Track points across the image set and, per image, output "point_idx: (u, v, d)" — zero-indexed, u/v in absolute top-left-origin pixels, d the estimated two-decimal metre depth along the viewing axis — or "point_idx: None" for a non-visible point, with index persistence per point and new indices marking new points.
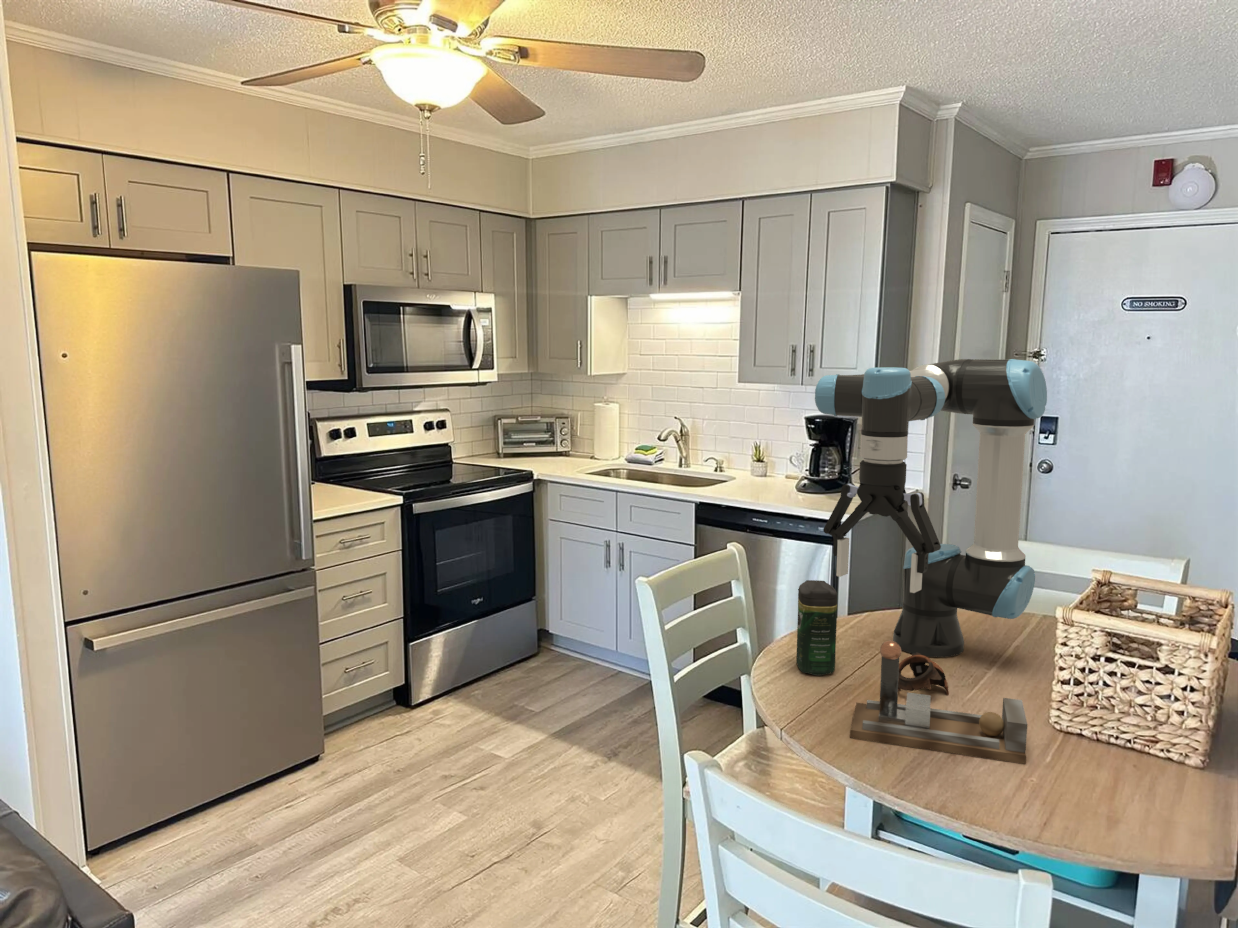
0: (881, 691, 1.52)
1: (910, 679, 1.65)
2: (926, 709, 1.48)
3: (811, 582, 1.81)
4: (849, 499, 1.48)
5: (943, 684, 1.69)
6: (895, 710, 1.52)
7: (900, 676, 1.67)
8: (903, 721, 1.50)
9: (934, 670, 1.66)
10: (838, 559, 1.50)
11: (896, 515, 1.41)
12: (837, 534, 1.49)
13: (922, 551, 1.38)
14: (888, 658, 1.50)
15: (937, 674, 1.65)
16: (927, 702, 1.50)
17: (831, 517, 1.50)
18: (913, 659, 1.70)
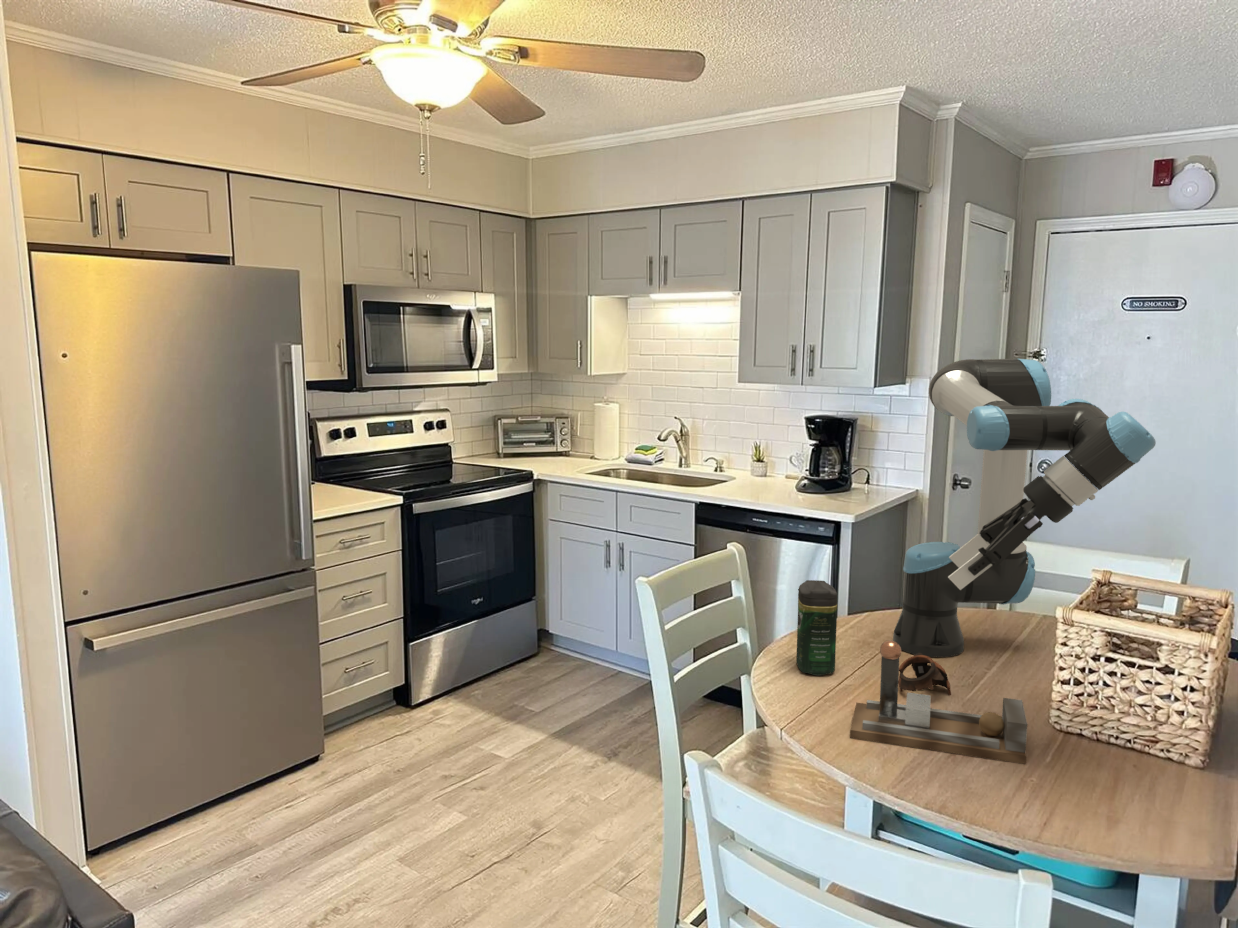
0: (881, 691, 1.52)
1: (913, 679, 1.65)
2: (926, 709, 1.48)
3: (811, 582, 1.81)
4: None
5: (945, 684, 1.69)
6: (895, 710, 1.52)
7: (902, 676, 1.67)
8: (903, 721, 1.50)
9: (936, 670, 1.65)
10: (975, 578, 1.38)
11: None
12: None
13: None
14: (888, 658, 1.50)
15: (939, 674, 1.65)
16: (927, 702, 1.50)
17: (1011, 551, 1.34)
18: (915, 659, 1.70)
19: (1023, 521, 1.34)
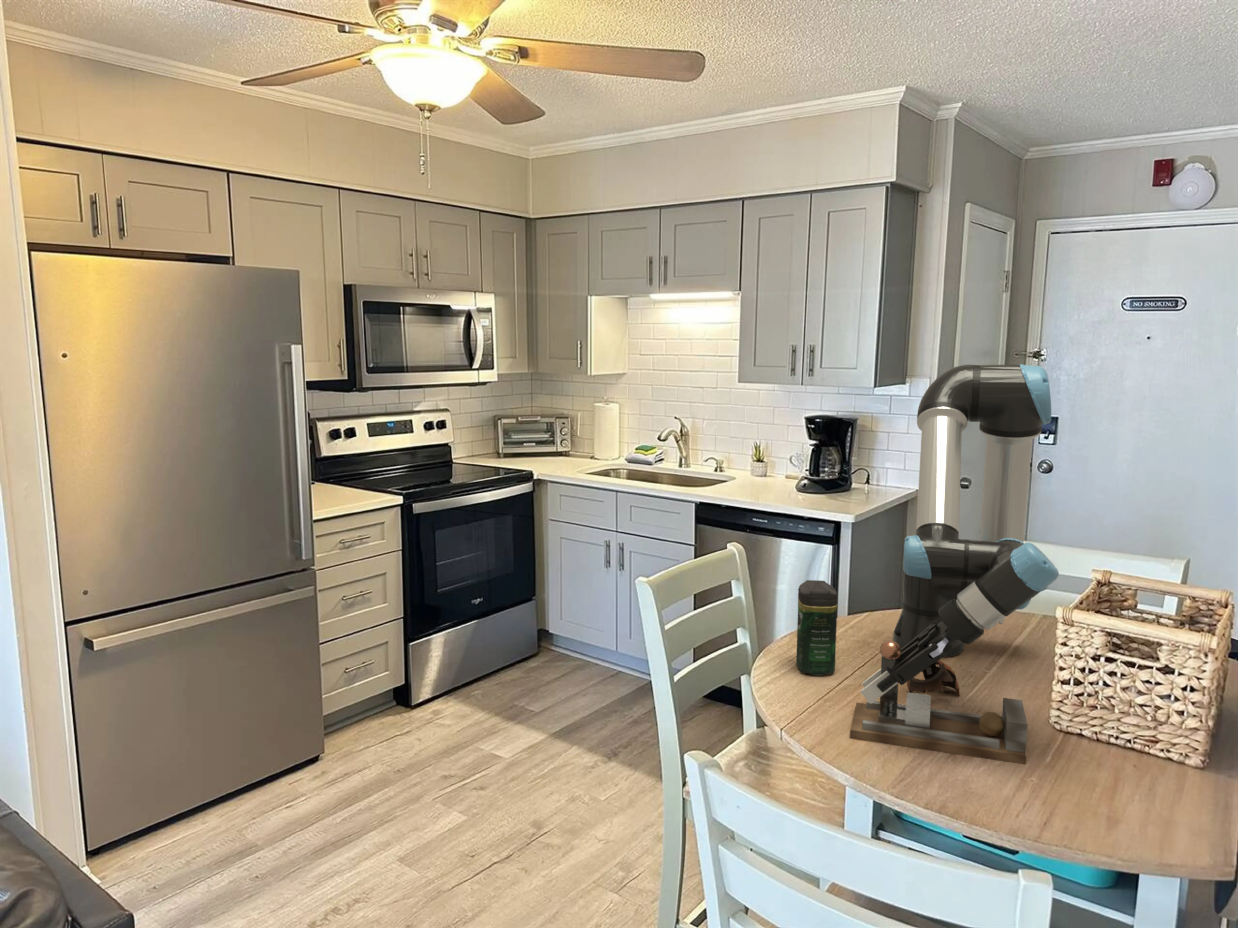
0: None
1: (922, 681, 1.64)
2: (926, 709, 1.48)
3: (811, 582, 1.81)
4: None
5: (954, 685, 1.69)
6: (895, 710, 1.52)
7: (912, 678, 1.66)
8: (903, 721, 1.50)
9: (946, 672, 1.65)
10: None
11: None
12: None
13: None
14: (888, 658, 1.50)
15: (949, 676, 1.64)
16: (927, 702, 1.50)
17: None
18: None
19: (926, 651, 1.43)
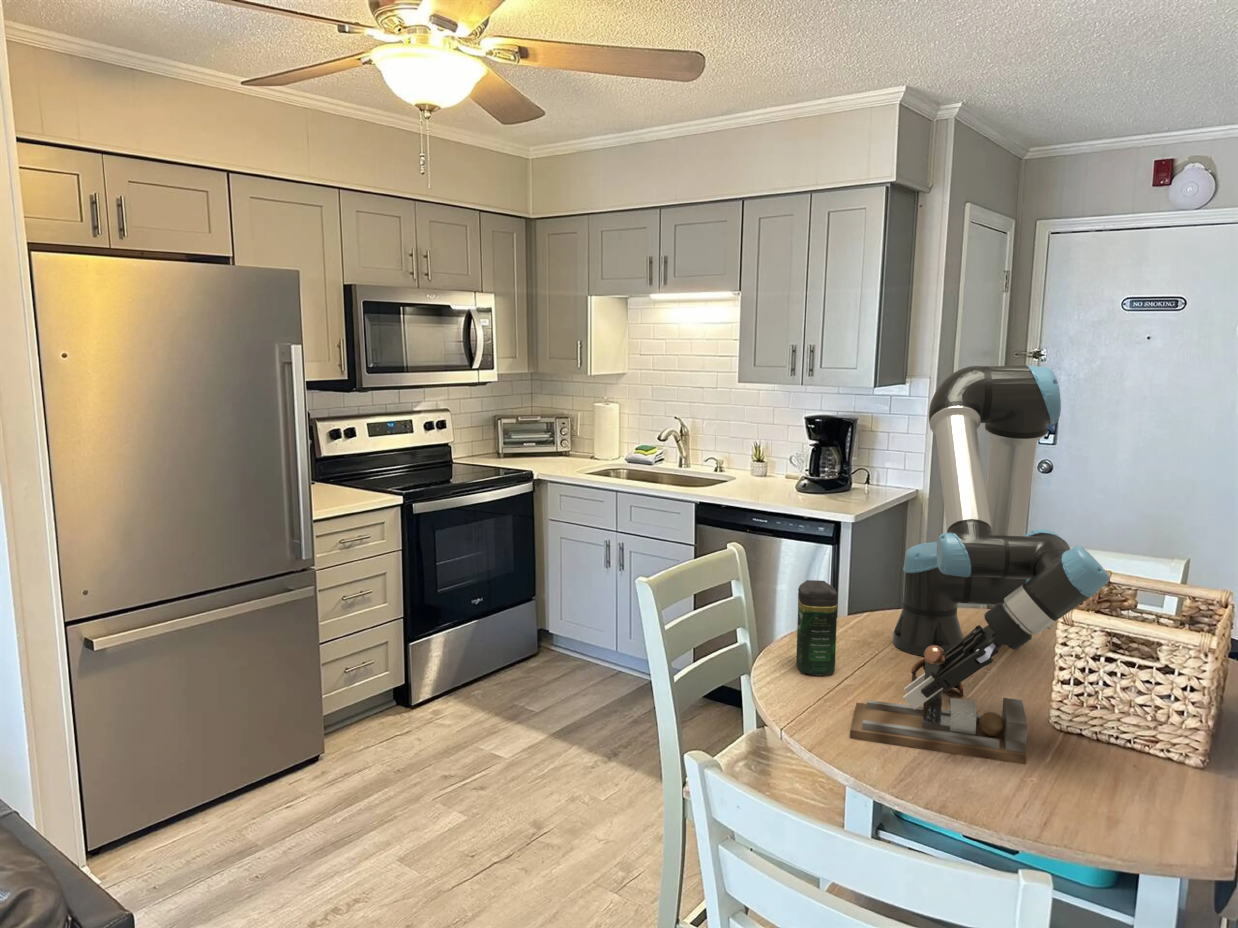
0: None
1: None
2: (972, 715, 1.45)
3: (811, 582, 1.81)
4: None
5: (957, 686, 1.68)
6: (939, 716, 1.49)
7: (915, 679, 1.66)
8: (948, 727, 1.48)
9: None
10: None
11: None
12: None
13: None
14: (932, 663, 1.48)
15: None
16: (972, 708, 1.48)
17: (961, 680, 1.43)
18: None
19: (974, 656, 1.41)
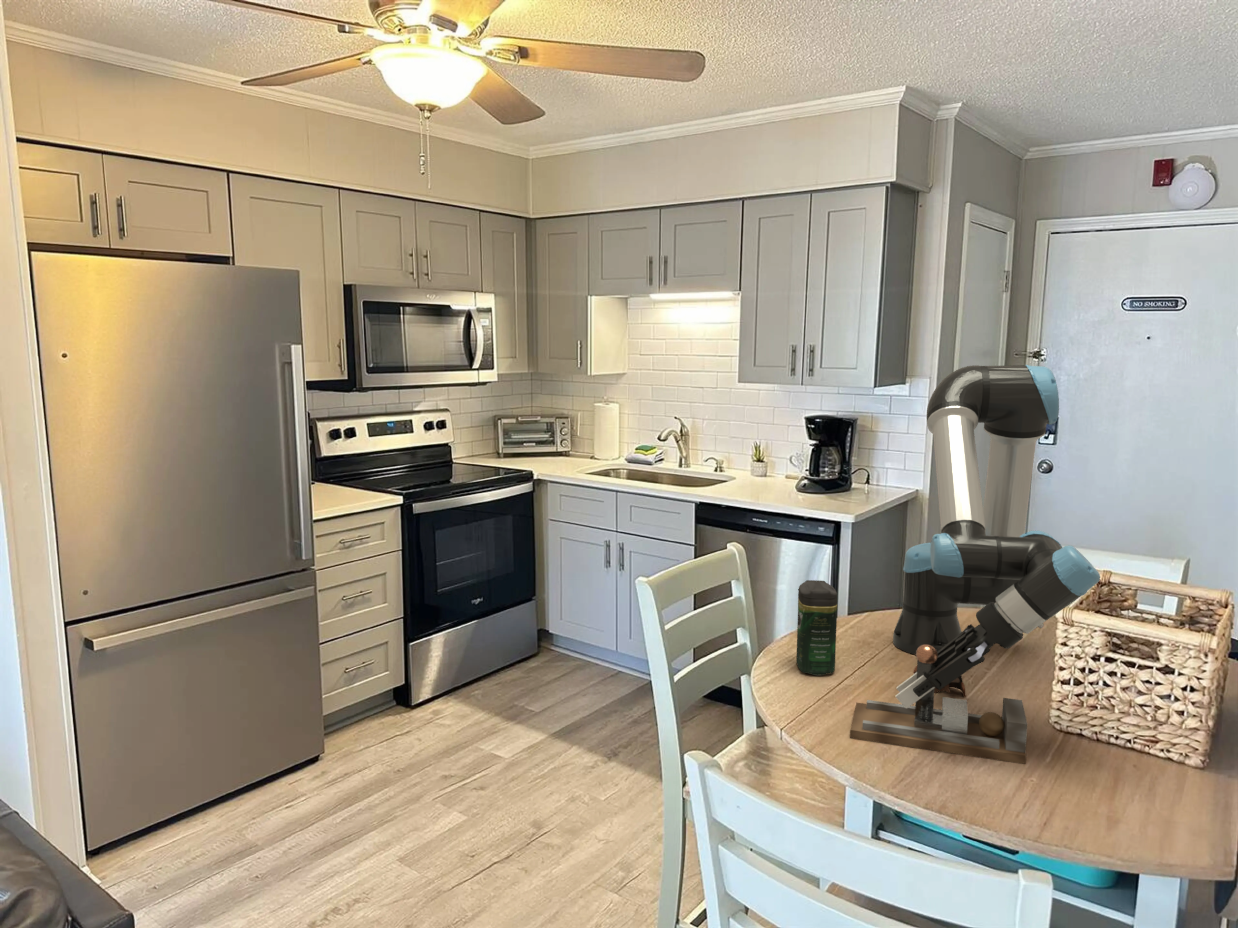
0: None
1: None
2: (963, 714, 1.46)
3: (811, 582, 1.81)
4: None
5: (960, 686, 1.68)
6: (931, 715, 1.50)
7: None
8: (940, 726, 1.48)
9: None
10: (919, 697, 1.49)
11: None
12: None
13: None
14: (924, 662, 1.48)
15: None
16: (964, 707, 1.48)
17: (953, 679, 1.43)
18: None
19: (965, 655, 1.41)
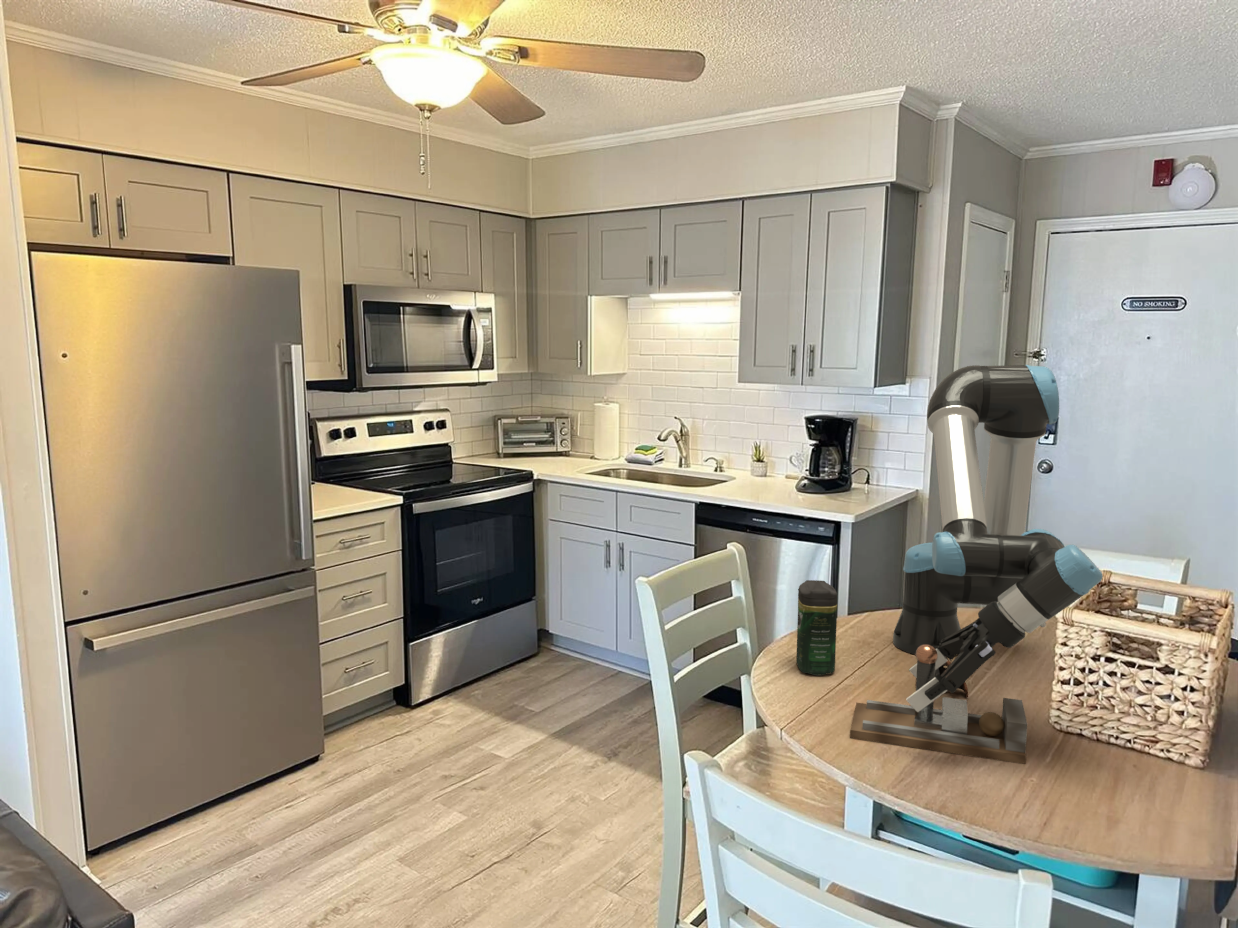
0: None
1: None
2: (963, 714, 1.46)
3: (811, 582, 1.81)
4: None
5: (962, 687, 1.68)
6: (931, 715, 1.50)
7: None
8: (939, 726, 1.48)
9: None
10: None
11: None
12: None
13: None
14: (924, 662, 1.48)
15: None
16: (963, 707, 1.48)
17: (966, 679, 1.39)
18: None
19: (977, 650, 1.39)
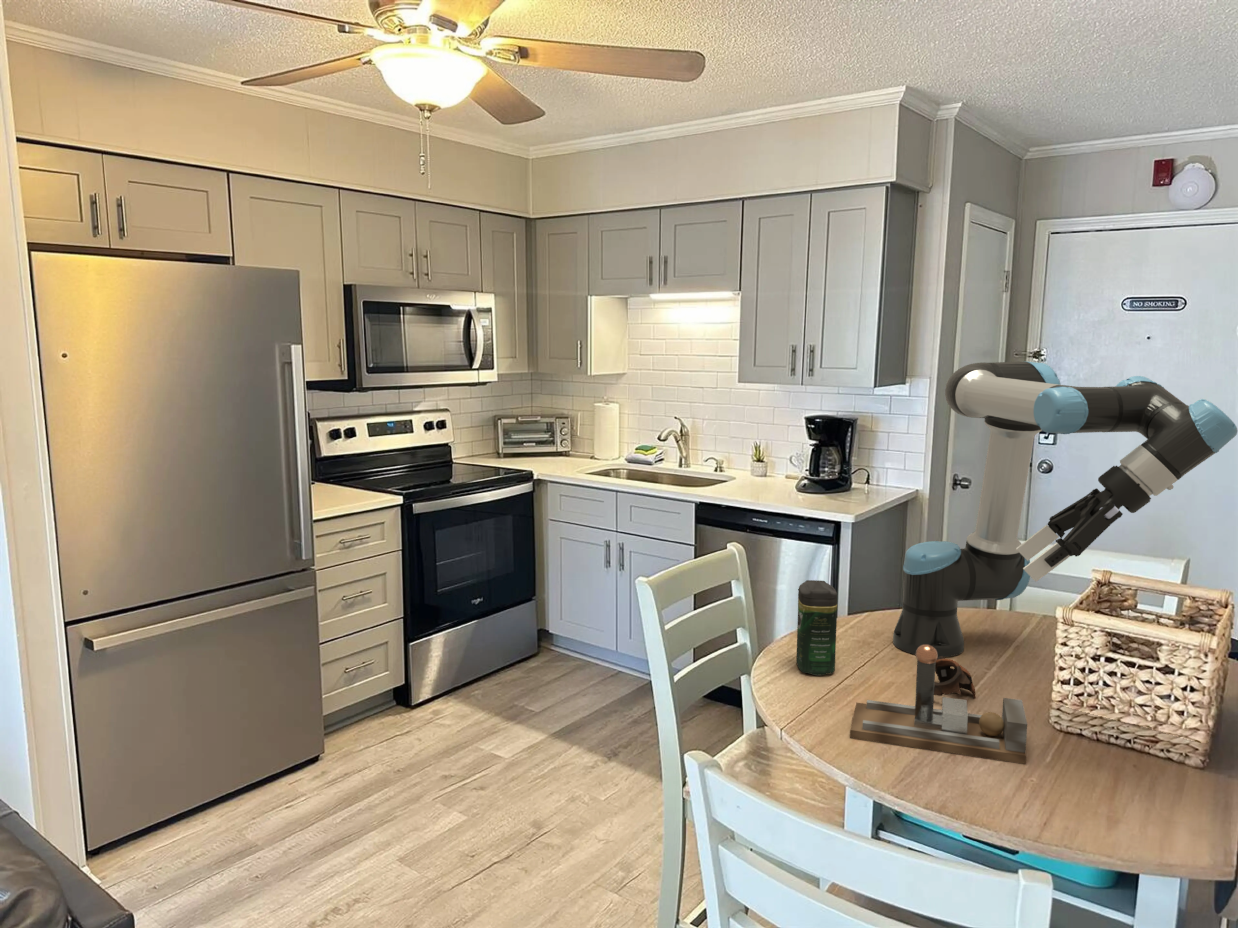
0: (917, 696, 1.50)
1: (939, 683, 1.63)
2: (963, 714, 1.46)
3: (811, 582, 1.81)
4: None
5: (969, 687, 1.68)
6: (931, 715, 1.50)
7: None
8: (939, 726, 1.48)
9: (962, 674, 1.64)
10: (1051, 569, 1.36)
11: None
12: None
13: (1061, 532, 1.48)
14: (924, 662, 1.48)
15: (966, 678, 1.63)
16: (963, 707, 1.48)
17: (1091, 542, 1.32)
18: (939, 663, 1.68)
19: (1103, 511, 1.32)
